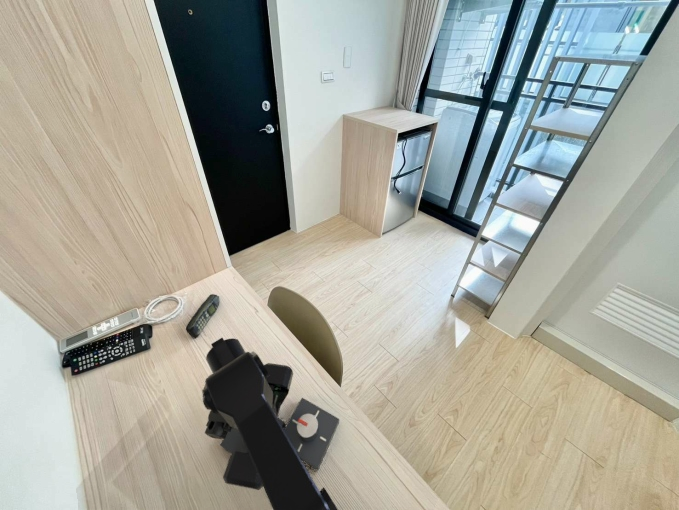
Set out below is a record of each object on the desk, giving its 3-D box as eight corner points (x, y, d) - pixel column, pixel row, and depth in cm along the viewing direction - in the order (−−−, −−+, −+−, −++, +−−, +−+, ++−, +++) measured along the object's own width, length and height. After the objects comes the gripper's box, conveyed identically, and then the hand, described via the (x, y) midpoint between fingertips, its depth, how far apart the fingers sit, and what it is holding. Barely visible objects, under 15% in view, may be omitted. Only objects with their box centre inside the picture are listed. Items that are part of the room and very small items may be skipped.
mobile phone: (191, 331, 75) (219, 289, 85) (182, 329, 75) (211, 287, 85) (198, 339, 78) (224, 298, 88) (189, 337, 79) (216, 296, 89)
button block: (261, 475, 56) (256, 472, 53) (222, 447, 60) (216, 443, 57) (288, 426, 63) (286, 421, 60) (252, 403, 66) (248, 397, 63)
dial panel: (317, 470, 57) (316, 468, 54) (279, 445, 60) (276, 441, 58) (339, 422, 63) (339, 418, 61) (303, 401, 66) (302, 397, 64)
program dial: (322, 424, 60) (321, 419, 57) (312, 446, 57) (310, 441, 54) (305, 415, 61) (303, 409, 58) (295, 435, 59) (292, 430, 56)
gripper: (231, 344, 50) (250, 377, 61) (173, 469, 37) (210, 482, 48) (288, 352, 49) (297, 384, 60) (249, 484, 36) (270, 494, 47)
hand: (271, 430), depth 54 cm, fingers open, 9 cm apart
